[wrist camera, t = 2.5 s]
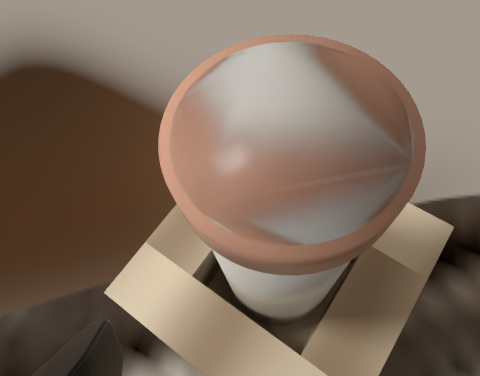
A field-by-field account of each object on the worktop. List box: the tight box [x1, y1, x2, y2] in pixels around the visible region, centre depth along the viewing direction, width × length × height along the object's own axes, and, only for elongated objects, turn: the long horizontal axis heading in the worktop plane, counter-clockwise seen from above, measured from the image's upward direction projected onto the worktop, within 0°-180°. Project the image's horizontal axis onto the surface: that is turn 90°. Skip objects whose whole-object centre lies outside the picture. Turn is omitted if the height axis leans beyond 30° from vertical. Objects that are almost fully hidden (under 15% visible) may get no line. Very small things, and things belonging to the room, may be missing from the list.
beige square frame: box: [104, 203, 454, 376], centre depth 17 cm, size 10×10×4 cm
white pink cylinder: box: [159, 35, 426, 326], centre depth 12 cm, size 5×5×12 cm
